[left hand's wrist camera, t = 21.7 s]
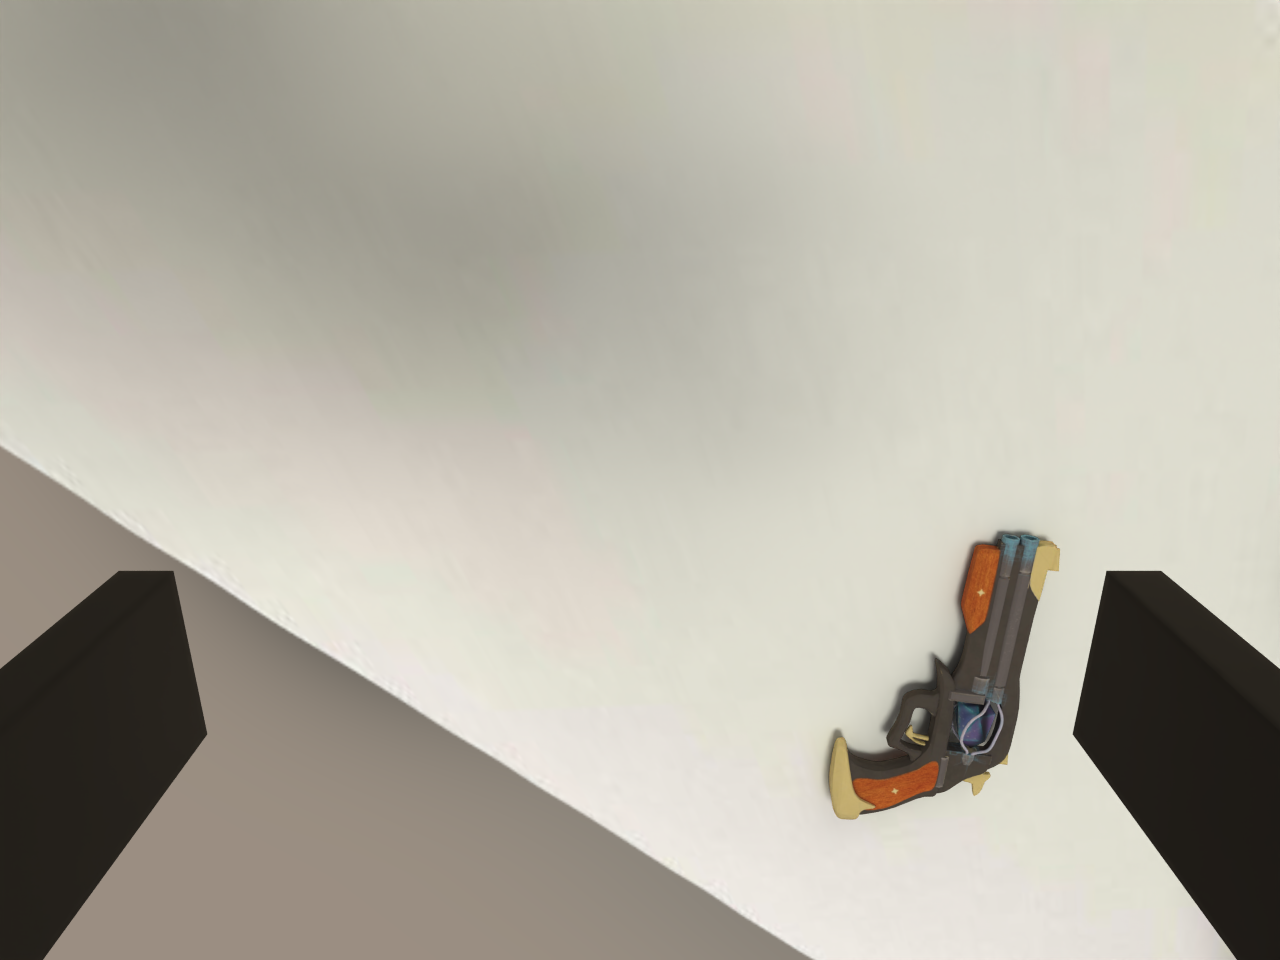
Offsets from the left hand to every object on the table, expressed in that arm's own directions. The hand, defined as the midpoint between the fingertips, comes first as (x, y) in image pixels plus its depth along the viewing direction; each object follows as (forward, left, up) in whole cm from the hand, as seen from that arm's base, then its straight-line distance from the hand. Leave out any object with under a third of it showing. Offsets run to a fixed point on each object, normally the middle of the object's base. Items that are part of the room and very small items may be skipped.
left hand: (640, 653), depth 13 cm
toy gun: (+27, -7, -34) cm, 44 cm away
